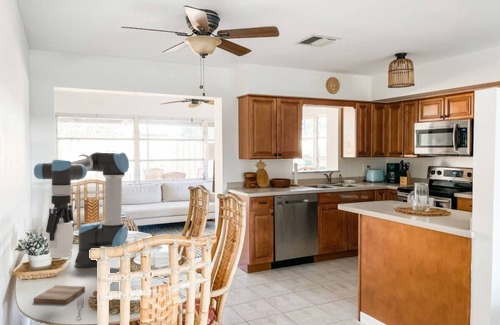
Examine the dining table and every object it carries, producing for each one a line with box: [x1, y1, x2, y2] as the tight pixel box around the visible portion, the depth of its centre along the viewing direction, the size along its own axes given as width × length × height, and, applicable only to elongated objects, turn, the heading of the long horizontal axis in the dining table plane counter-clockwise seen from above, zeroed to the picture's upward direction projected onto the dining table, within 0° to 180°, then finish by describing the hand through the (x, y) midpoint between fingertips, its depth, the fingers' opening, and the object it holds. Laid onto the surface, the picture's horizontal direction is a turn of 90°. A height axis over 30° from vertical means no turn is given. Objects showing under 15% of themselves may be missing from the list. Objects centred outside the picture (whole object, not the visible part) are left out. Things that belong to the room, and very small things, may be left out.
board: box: [33, 284, 86, 305], centre depth 166 cm, size 16×14×2 cm
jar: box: [46, 219, 75, 259], centre depth 165 cm, size 11×10×15 cm
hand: (60, 245), depth 165 cm, fingers closed on jar, 10 cm apart
